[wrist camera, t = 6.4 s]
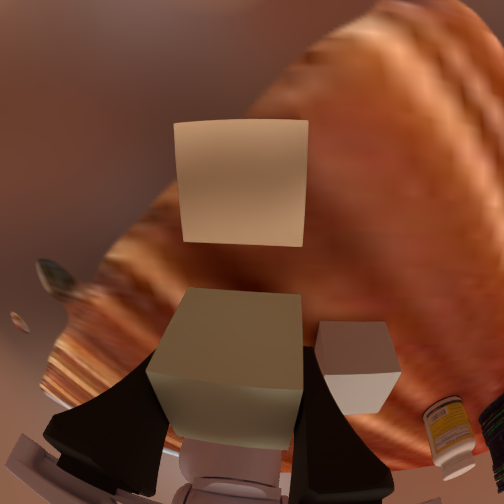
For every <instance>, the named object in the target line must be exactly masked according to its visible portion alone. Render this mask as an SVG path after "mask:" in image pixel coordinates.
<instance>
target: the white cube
mask: <svg viewBox="0 0 504 504" xmlns="http://www.w3.org/2000/svg"><path fill="white" fill-rule="evenodd" d="M314 351H315V355H316V358H317V361H318V364H319V367H320V369H321V372H322V374H323V377H324V379H325V381H326V383H327V386H328V388H329V390H330V392H331V394H332V396H333V398H334V400H335V401H336V403H337V405H338V407H339V408H340V410H341V412H342V413H343V415H354V414H369V413H378V412H379V410H380V408H381V407H382V405H383V404H384V402H385V400H386V399H387V397H388V395H389V394H390V392H391V390H392V389H393V387H394V385H395V383H396V382H397V380H398V378H399V376H400V374H401V372H402V371H401V367H400V364H399V361H398V358H397V355H396V352H395V349H394V346H393V343H392V340H391V337H390V334H389V331H388V328H387V326H386V323H385V321H377V322H355V321H320V324H319V329H318V334H317V340H316V345H315V350H314Z"/></svg>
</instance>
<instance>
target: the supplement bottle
mask: <svg viewBox="0 0 504 504" xmlns="http://www.w3.org/2000/svg"><path fill="white" fill-rule="evenodd" d="M423 422H424V426H425V430H426V433H427V437H428V441H429V446H430V450H431V454H432V459H433V463H434V464H435V465H436V466H442V467H443V469H442V477H443V480H449V479H452V478H454V477H457V476H458V475H461V474H463V473H465V472H466V471H468V470H470V469H471V468H473V467H474V466H475V459H474V456H473V455H471V451H472V450H473V449H474V447H475V443H476V442H475V438H474V435H473V432H472V429H471V426H470V423H469V420H468V417H467V414H466V411H465V409H464V406H463V403H462V401H461V399H460V398H459V397H456V396H454V397H449V398H446V399H443V400H441V401H439V402H437V403H436V404H434V405H433V406H431V407H430V408H429V409H428V410H427V411H426V412H425V414H424V416H423Z"/></svg>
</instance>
